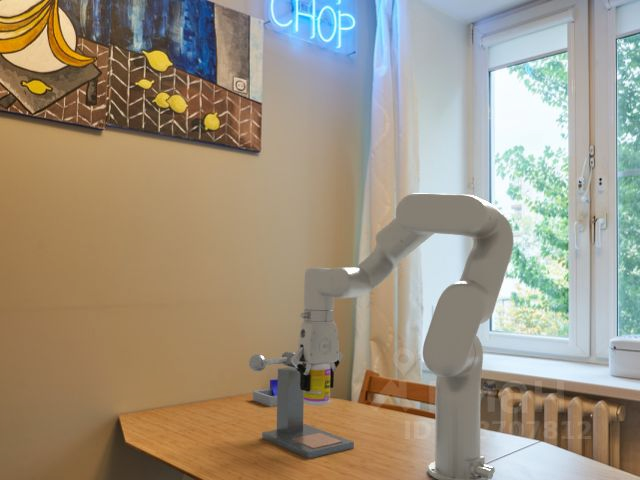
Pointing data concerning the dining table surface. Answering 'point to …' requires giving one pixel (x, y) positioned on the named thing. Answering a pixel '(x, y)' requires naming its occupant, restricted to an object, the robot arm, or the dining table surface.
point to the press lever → (269, 361)
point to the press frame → (299, 422)
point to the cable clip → (274, 386)
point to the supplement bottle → (318, 385)
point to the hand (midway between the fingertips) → (317, 388)
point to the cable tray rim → (265, 397)
